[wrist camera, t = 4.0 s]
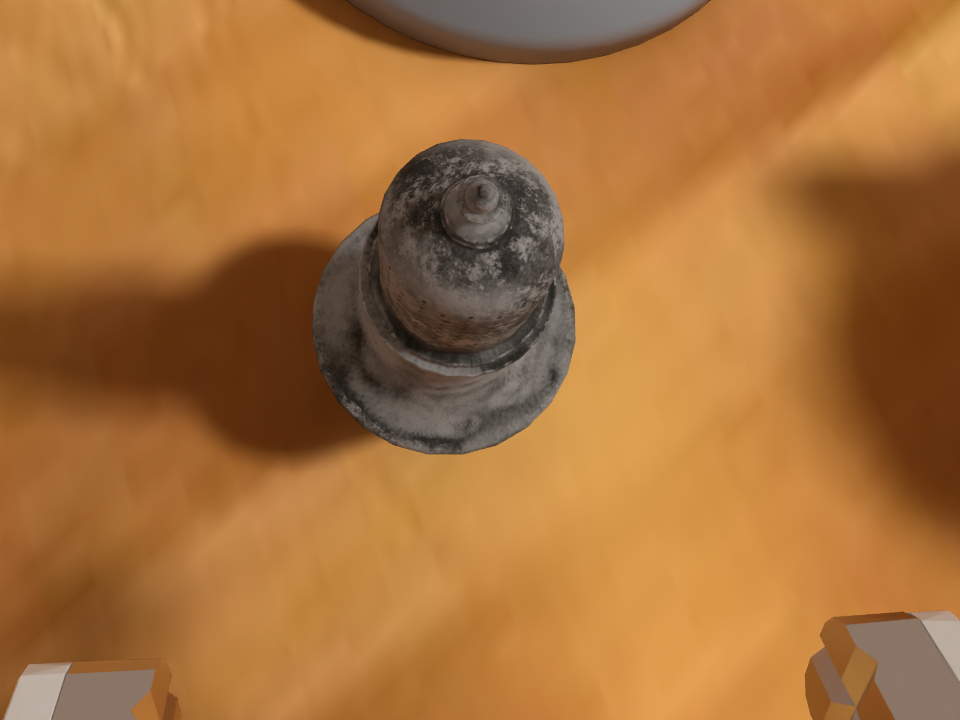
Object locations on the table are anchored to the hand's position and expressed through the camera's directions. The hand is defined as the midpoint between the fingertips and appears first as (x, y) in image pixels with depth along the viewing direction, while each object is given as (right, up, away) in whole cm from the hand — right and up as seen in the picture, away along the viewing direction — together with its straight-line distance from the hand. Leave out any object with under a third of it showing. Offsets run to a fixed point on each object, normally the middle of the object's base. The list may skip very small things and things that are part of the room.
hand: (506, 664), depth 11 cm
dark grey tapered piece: (-1, +4, +12) cm, 13 cm away
